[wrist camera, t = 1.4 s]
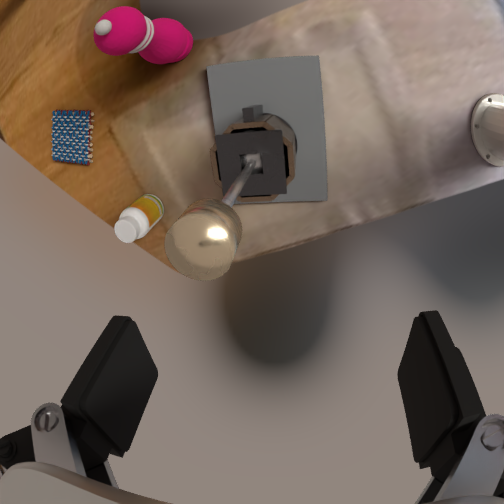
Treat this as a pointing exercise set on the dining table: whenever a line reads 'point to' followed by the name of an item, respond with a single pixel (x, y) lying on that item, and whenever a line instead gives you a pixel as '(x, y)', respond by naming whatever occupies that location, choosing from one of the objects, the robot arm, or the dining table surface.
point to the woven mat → (72, 136)
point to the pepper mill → (142, 36)
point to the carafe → (259, 141)
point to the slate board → (278, 111)
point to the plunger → (210, 230)
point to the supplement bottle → (139, 218)
